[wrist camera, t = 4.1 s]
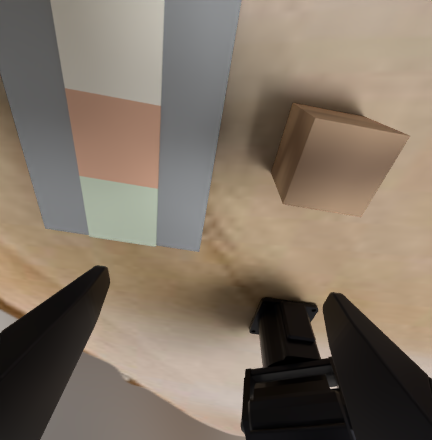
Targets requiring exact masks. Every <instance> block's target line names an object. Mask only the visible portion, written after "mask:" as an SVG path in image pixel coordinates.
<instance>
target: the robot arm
mask: <svg viewBox="0 0 432 440" xmlns="http://www.w3.org/2000/svg"><path fill="white" fill-rule="evenodd" d="M109 285H110V278H109V272H108V268H107V267H106V266H94V267H93V268H92V269H90V270H89V271H87V272H86V273H84V274H83V275H81V276H80V277H79V278H77V279H76V280H74V281H73V282H71V283H70V284H69V285H67V286H66V287H64V288H63V289H61V290H60V291H59V292H57V293H56V294H54V295H53V296H51V297H50V298H49V299H47V300H46V301H44V302H43V303H41V304H40V305H38V306H37V307H36V308H34V309H33V310H31V311H30V312H28V313H27V314H26V315H24V316H23V317H21V318H20V319H18V320H17V321H16V322H14V323H13V324H11V325H10V326H9V327H7V328H5V329H4V330H3V331H2V332H1V333H0V440H40V439H41V437H42V435H43V433H44V431H45V429H46V426H47V424H48V422H49V420H50V418H51V416H52V414H53V412H54V410H55V408H56V406H57V404H58V402H59V399H60V397H61V395H62V393H63V391H64V389H65V387H66V385H67V383H68V381H69V379H70V377H71V375H72V372H73V370H74V368H75V366H76V364H77V362H78V360H79V358H80V356H81V354H82V352H83V350H84V348H85V346H86V343H87V341H88V339H89V337H90V335H91V333H92V331H93V329H94V327H95V324H96V322H97V320H98V317H99V314H100V311H101V308H102V306H103V303H104V300H105V297H106V294H107V291H108V289H109ZM317 312H318V307H317V306H316V305H314V304H307V303H300V302H293V301H286V300H279V299H272V298H263V299H262V300H261V302H260V304H259V306H258V309H257V311H256V313H255V316H254V318H253V320H252V323H251V325H250V327H249V332H250V333H252V334H259V337H260V346H261V355H262V364H263V368H257V369H251V368H250V369H246V371H245V378H244V390H243V408H242V419H241V430H242V431H243V432H244V434H245V436H246V440H432V379H431V378H430V377H428V375H427V374H426V373H425V372H424V371H423V370H422V369H421V368H420V367H419V366H418V365H417V364H416V363H415V362H413V361H412V360H411V359H410V358H409V357H408V356H407V355H406V354H405V353H404V352H403V351H402V350H401V349H400V348H399V347H398V346H397V345H396V344H395V343H393V342H392V341H391V340H390V339H389V338H388V337H387V336H386V335H385V334H384V333H383V332H382V331H381V330H380V329H379V328H378V327H377V326H376V325H375V324H373V323H372V322H371V321H370V320H369V319H368V318H367V317H366V316H365V315H364V314H363V313H362V312H361V311H360V310H359V309H358V308H357V307H356V306H355V305H353V304H352V303H351V302H350V301H349V300H348V299H347V298H346V297H345V296H344V295H343V294H341V293H334V292H332V293H330V294H329V296H328V297H327V299H326V301H325V303H324V304H323V314H324V320H325V326H326V331H327V337H328V342H329V347H330V351H331V355H332V357H329V358H326V359H321V357H320V354H319V351H318V348H317V344H316V341H315V340H316V339H315V336H314V333H313V329H312V326H311V323H310V322H311V321H312V319H313V318H314V316H315V315H316V313H317ZM334 386H337V388H336V389H330V387H334Z"/></svg>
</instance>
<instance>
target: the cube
mask: <svg viewBox="0 0 432 440" xmlns="http://www.w3.org/2000/svg"><path fill="white" fill-rule="evenodd" d="M409 137H410V136H409V135H407V134H404V133H402V132H400V131H397V130H395V129H393V128H390V127H388V126H386V125H383V124H381V123H378V122H376V121H374V120H371V119H369V118H367V117H364V116H359V115H354V114H349V113H344V112H338V111H333V110H328V109H323V108H318V107H312V106H307V105H302V104H297V103H293V104H292V107H291V110H290V113H289V116H288V120H287V123H286V126H285V129H284V132H283V135H282V139H281V142H280V145H279V148H278V151H277V155H276V158H275V161H274V164H273V167H272V171H271V174H272V177H273V179H274V182H275V184H276V187H277V190H278V192H279V195H280V197H281V200H282V203H283V204H285V205H291V206H297V207H303V208H309V209H315V210H321V211H327V212H333V213H339V214H345V215H351V216H358V217H361V216H362V215H363V213H364V211H365V210H366V208H367V206H368V205H369V203H370V201H371V200H372V198H373V196H374V195H375V193H376V192H377V190H378V188H379V187H380V185H381V183H382V182H383V180H384V178H385V177H386V175H387V173H388V172H389V170H390V168H391V167H392V165H393V163H394V162H395V160H396V159H397V157H398V155H399V154H400V152H401V150H402V149H403V147H404V145H405V144H406V142H407V140H408V139H409Z"/></svg>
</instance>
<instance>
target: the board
mask: <svg viewBox="0 0 432 440" xmlns="http://www.w3.org/2000/svg"><path fill="white" fill-rule="evenodd" d="M240 6H241V0H0V74H1V77H2V81H3V84H4V88H5V91H6V94H7V98H8V101H9V105H10V108H11V112H12V115H13V119H14V122H15V126H16V129H17V132H18V136H19V139H20V143H21V146H22V150H23V153H24V157H25V160H26V163H27V167H28V170H29V174H30V177H31V181H32V184H33V188H34V191H35V195H36V198H37V201H38V205H39V208H40V212H41V215H42V219H43V222H44V226H45V229H52V230H58V231H65V232H72V233H78V234H85V235H89V237H95V238H101V239H108V240H115V241H121V242H128V243H134V244H141V245H148V246H154V247H156V245H157V246H164V247H171V248H177V249H184V250H190V251H197V252H199V249H200V243H201V238H202V232H203V226H204V220H205V214H206V208H207V202H208V196H209V190H210V184H211V178H212V172H213V166H214V160H215V154H216V148H217V142H218V136H219V131H220V125H221V119H222V113H223V107H224V101H225V95H226V89H227V83H228V77H229V71H230V65H231V59H232V53H233V47H234V41H235V35H236V29H237V24H238V18H239V12H240Z"/></svg>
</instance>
